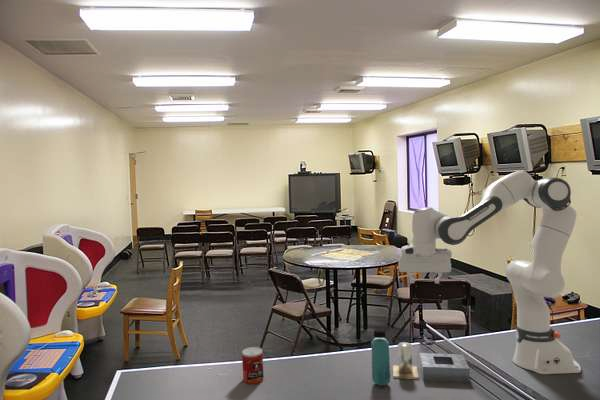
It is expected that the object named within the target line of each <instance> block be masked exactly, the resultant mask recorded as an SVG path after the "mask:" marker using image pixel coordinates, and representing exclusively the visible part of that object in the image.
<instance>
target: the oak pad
mask: <svg viewBox="0 0 600 400" xmlns="http://www.w3.org/2000/svg"><path fill="white" fill-rule="evenodd" d="M392 374H393V379H405V380H408V379H409V380H420V377H419V373H418V367H417V365H413V372H412V373H411V374H402V373H400V372H399V371H398V364H397V365H395V364H393V365H392Z"/></svg>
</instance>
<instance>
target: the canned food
mask: <svg viewBox="0 0 600 400" xmlns="http://www.w3.org/2000/svg"><path fill="white" fill-rule="evenodd" d="M241 354H242V355H241V359H242V361H241V362H242V378H243V382H244V383H246V384H248V385H257V384H260V383H261V382H263V380H264V376H265V375H264V353H263V349H262V348H261V347H257V346H250V347H247V348H246V347H245V348H244V349H243V350H241Z"/></svg>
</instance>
